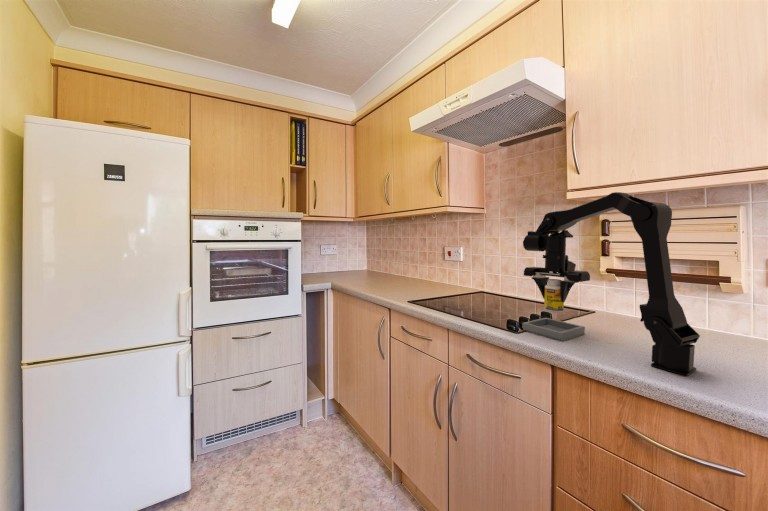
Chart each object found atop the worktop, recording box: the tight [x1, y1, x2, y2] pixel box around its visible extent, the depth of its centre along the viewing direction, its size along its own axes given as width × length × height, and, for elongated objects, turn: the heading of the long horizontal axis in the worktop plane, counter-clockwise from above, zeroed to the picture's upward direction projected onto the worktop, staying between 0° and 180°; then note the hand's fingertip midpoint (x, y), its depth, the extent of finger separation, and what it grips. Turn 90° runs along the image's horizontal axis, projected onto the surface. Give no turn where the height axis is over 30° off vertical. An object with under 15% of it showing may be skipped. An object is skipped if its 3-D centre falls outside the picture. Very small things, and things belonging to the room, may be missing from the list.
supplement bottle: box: [543, 278, 565, 314], centre depth 102 cm, size 6×6×10 cm
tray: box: [521, 317, 586, 342], centre depth 102 cm, size 13×13×2 cm
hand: (553, 300), depth 102 cm, fingers closed on supplement bottle, 5 cm apart
